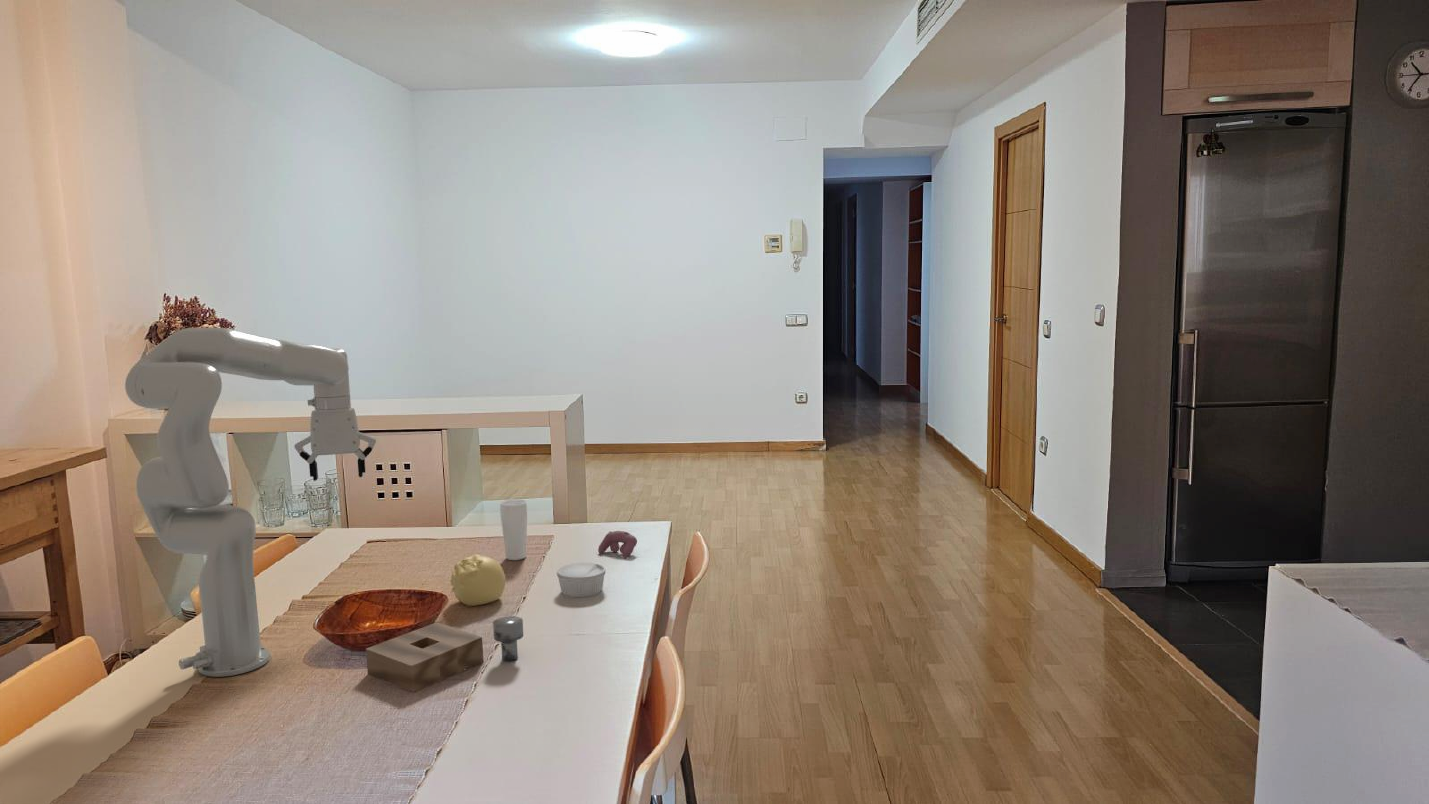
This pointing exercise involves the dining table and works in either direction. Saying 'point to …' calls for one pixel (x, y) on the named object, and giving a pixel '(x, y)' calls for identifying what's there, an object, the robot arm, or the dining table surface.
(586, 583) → the ramekin
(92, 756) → the dining table surface
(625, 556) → the dark red animal figurine
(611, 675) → the dining table surface
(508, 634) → the steel pin
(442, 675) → the walnut block
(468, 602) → the sculpture
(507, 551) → the drinking glass
